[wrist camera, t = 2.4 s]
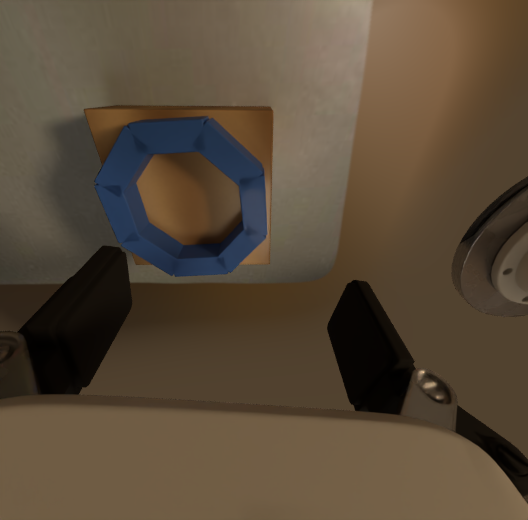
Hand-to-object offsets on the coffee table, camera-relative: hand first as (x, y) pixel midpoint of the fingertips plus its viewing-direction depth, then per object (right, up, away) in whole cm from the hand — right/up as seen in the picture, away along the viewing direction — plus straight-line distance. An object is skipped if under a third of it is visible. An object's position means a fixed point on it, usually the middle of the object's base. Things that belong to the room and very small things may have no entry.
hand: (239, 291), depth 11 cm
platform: (-4, +8, +10) cm, 13 cm away
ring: (-4, +6, +7) cm, 10 cm away
